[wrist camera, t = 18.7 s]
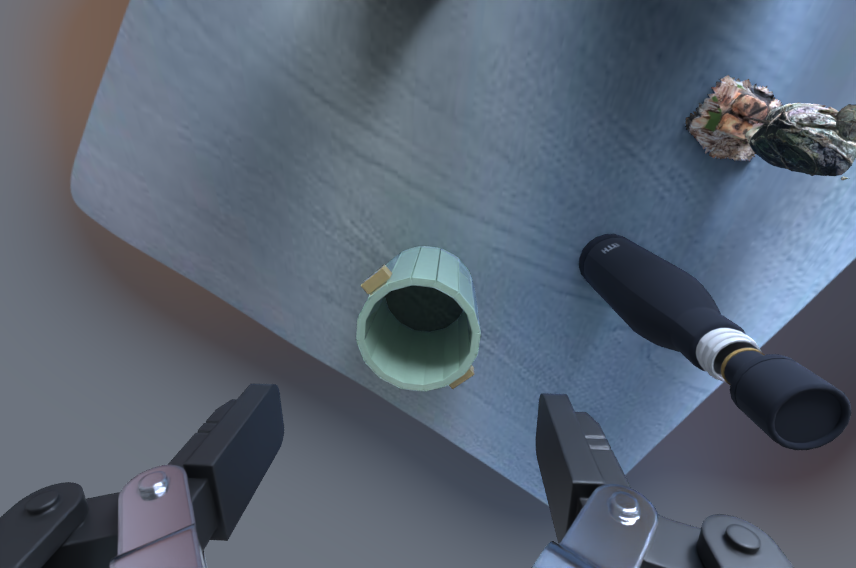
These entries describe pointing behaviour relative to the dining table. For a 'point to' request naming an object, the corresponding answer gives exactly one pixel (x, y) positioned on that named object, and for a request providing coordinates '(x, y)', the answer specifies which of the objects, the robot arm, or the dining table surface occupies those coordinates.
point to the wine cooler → (412, 349)
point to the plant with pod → (774, 129)
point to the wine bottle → (714, 343)
